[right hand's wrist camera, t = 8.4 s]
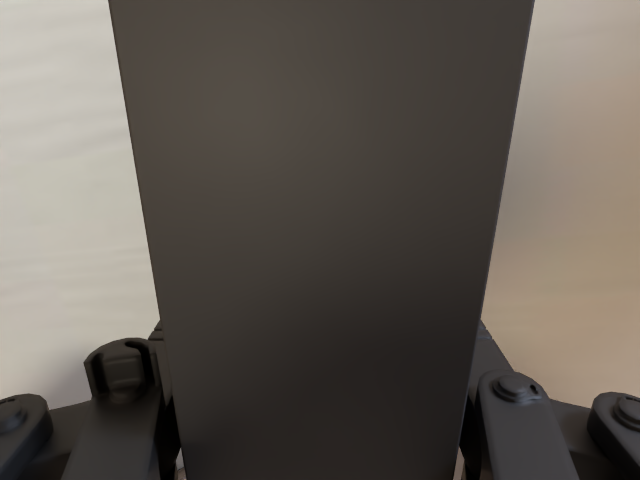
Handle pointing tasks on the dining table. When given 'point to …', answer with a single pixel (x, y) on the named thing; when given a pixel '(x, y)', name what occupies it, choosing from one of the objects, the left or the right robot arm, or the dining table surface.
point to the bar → (320, 221)
